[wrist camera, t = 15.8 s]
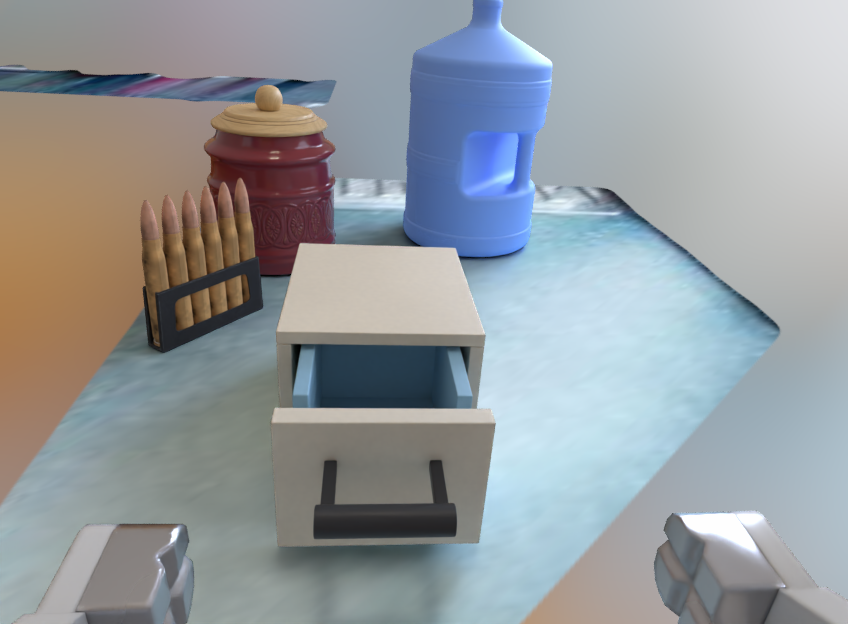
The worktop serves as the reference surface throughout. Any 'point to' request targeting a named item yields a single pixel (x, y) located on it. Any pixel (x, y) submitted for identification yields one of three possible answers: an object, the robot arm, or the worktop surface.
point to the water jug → (474, 137)
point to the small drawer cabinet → (377, 304)
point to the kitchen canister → (276, 175)
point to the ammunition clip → (198, 267)
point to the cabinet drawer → (380, 448)
